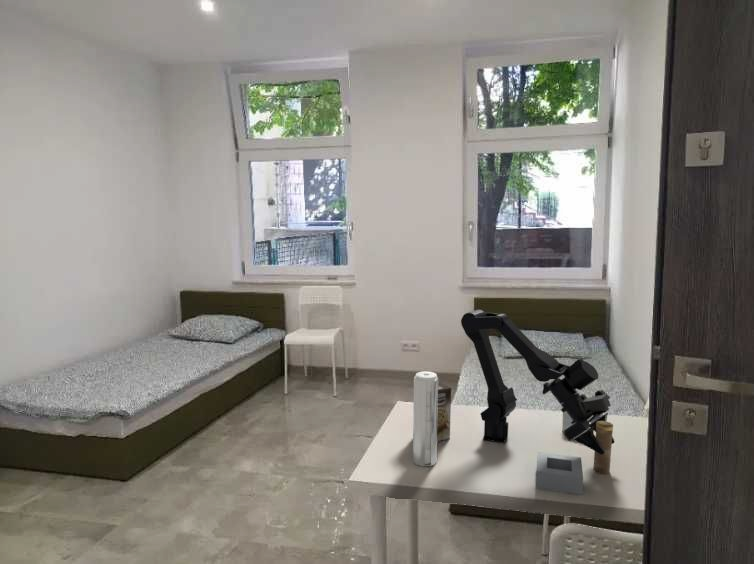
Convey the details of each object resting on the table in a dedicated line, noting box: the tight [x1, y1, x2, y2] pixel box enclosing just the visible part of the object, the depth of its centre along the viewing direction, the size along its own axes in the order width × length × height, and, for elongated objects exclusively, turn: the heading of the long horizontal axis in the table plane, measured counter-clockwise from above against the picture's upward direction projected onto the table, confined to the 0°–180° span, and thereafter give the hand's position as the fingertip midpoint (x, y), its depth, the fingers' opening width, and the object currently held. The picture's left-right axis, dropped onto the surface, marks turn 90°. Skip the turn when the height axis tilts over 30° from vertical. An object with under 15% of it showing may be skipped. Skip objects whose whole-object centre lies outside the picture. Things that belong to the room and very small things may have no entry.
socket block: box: [535, 451, 584, 496], centre depth 142 cm, size 11×11×4 cm
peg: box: [593, 420, 614, 475], centre depth 147 cm, size 4×4×13 cm
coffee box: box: [437, 381, 452, 442], centre depth 166 cm, size 9×6×16 cm
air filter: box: [412, 371, 439, 467], centre depth 151 cm, size 6×6×25 cm
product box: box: [561, 411, 573, 432], centre depth 172 cm, size 6×6×7 cm
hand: (608, 448), depth 146 cm, fingers open, 8 cm apart
